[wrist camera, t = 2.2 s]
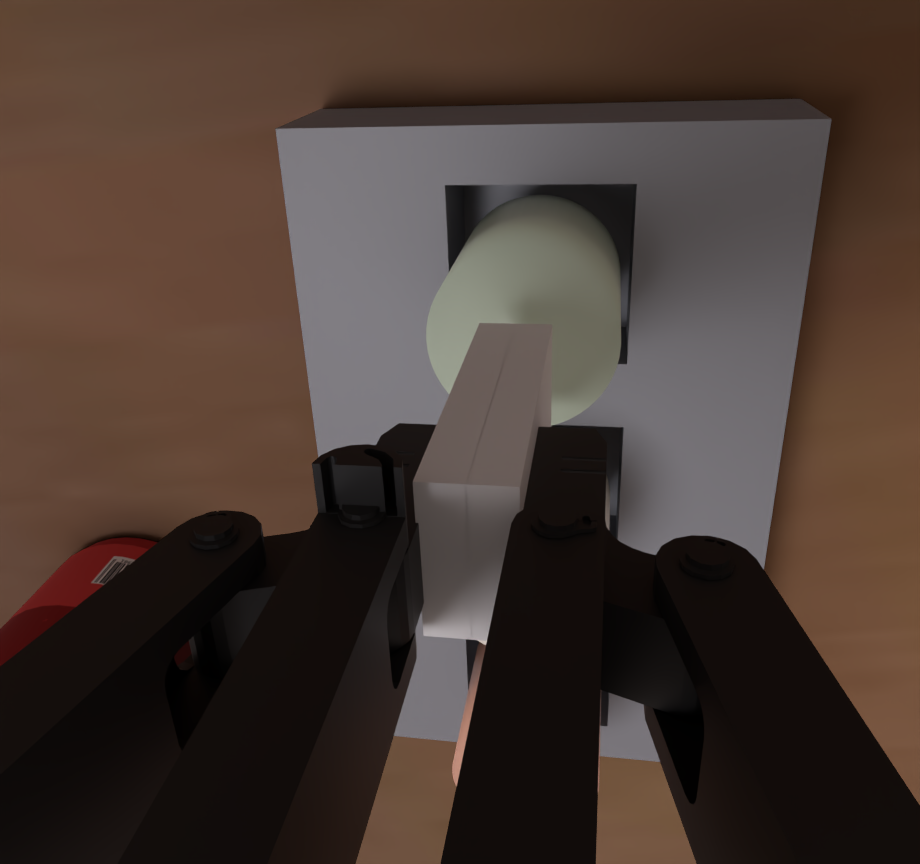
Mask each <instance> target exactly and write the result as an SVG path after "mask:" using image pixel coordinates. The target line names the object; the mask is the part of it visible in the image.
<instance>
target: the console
mask: <svg viewBox="0 0 920 864" xmlns="http://www.w3.org/2000/svg"><path fill="white" fill-rule="evenodd" d="M831 120H832V119H831V118H829V117H828V116H826V115H825V114H823V113H822V112H820V111H819V110H817V109H816V108H814V107H813V106H811V105H810V104H808V103H806V102H805V101H803V100H802V99H764V100H717V101H671V102H624V103H577V104H530V105H483V106H436V107H389V108H342V109H320V110H317V111H315V112H313V113H310V114H308V115H306V116H304V117H301V118H299V119H297V120H294V121H292V122H290V123H288V124H285V125H283V126H281V127H278V128H276V136H277V144H278V151H279V159H280V167H281V174H282V182H283V190H284V197H285V205H286V213H287V220H288V228H289V236H290V243H291V251H292V259H293V266H294V274H295V281H296V289H297V297H298V304H299V312H300V320H301V327H302V335H303V343H304V350H305V358H306V366H307V373H308V381H309V389H310V396H311V404H312V412H313V419H314V427H315V435H316V442H317V450H318V457H319V456H320V455H322V454H325V453H327V452H329V451H331V450H333V449H336V448H341V447H345V446H349V445H362V444H370V445H376V444H377V442H378V440H379V438H380V437H381V435H383V434H384V433H385V432H387V431H388V430H390V429H391V428H393V427H394V426H396V425H397V424H399V423H408V424H434V425H437V423H438V420H439V418H440V415H441V413H442V411H443V408H444V406H445V404H446V401H447V399H448V396H449V394H448V392H447V391H446V390H445V388H444V387H443V386H442V384H441V383H440V381H439V379H438V378H437V376H436V374H435V372H434V369H433V367H432V365H431V362H430V358H429V354H428V350H427V342H426V327H427V320H428V315H429V311H430V308H431V305H432V302H433V300H434V298H435V296H436V294H437V292H438V290H439V288H440V287H441V285H442V283H443V282H444V280H445V278H446V276H447V275H448V273H449V271H450V269H451V268H452V266H453V264H454V262H455V261H456V259H457V257H458V255H459V254H460V252H461V250H462V249H463V247H464V245H465V243H466V242H467V240H468V238H469V236H470V235H471V233H472V232H473V230H474V228H475V227H476V226H477V224H478V223H479V222H480V221H481V220H482V219H483V218H484V217H485V216H486V215H487V214H488V213H489V212H491V211H492V210H493V209H495V208H496V207H498V206H499V205H501V204H503V203H505V202H507V201H510V200H513V199H516V198H519V197H523V196H528V195H552V196H557V197H562V198H565V199H568V200H571V201H573V202H575V203H577V204H579V205H581V206H583V207H584V208H586V209H587V210H588V211H590V212H591V213H592V214H593V215H595V216H596V217H597V218H598V219H599V220H600V221H601V223H602V224H603V225H604V226H605V227H606V229H607V230H608V232H609V234H610V235H611V237H612V239H613V241H614V243H615V246H616V249H617V252H618V255H619V261H620V282H621V349H620V357H619V361H618V364H617V368H616V370H615V373H614V375H613V377H612V379H611V381H610V383H609V384H608V386H607V388H606V389H605V391H604V392H603V393H602V394H601V396H600V397H599V398H598V399H597V400H596V401H595V402H594V403H593V404H592V405H591V406H590V407H588V408H587V409H586V410H584V411H583V412H582V413H580V414H578V415H577V416H575V417H573V418H571V419H569V420H567V421H564V422H562V423H559V424H556V425H552V426H551V427H564V428H589V429H596V430H597V431H598V432H599V434H600V435H601V436H602V437H603V439H604V440H605V441H606V442H607V466H606V475H607V478H608V482H609V487H610V525H609V531H610V533H611V534H612V535H613V536H614V537H615V538H616V539H618V540H619V541H620V542H622V543H624V544H625V545H627V546H629V547H631V548H634V549H637V550H639V551H642V552H645V553H649V554H653V555H656V554H657V552H658V551H659V549H660V547H661V546H662V545H664V544H665V543H667V542H669V541H671V540H673V539H675V538H680V537H685V536H690V535H698V536H713V537H717V538H722V539H725V540H729V541H731V542H733V543H735V544H737V545H739V546H741V547H743V548H745V549H747V550H748V551H749V552H750V553H751V554H752V555H753V556H754V557H755V558H756V559H757V560H758V562H759V563H760V565H761V566H762V568H763V569H764V565H765V558H766V551H767V545H768V538H769V532H770V525H771V518H772V512H773V505H774V498H775V492H776V485H777V478H778V472H779V465H780V459H781V452H782V445H783V439H784V432H785V425H786V419H787V412H788V405H789V399H790V392H791V385H792V379H793V372H794V366H795V359H796V352H797V346H798V339H799V332H800V326H801V319H802V312H803V306H804V299H805V293H806V286H807V279H808V273H809V266H810V259H811V253H812V246H813V239H814V233H815V226H816V219H817V213H818V206H819V200H820V193H821V186H822V180H823V173H824V166H825V160H826V153H827V146H828V140H829V133H830V126H831ZM415 631H416V644H417V659H416V663H415V666H414V669H413V673H412V676H411V679H410V683H409V686H408V689H407V693H406V696H405V699H404V703H403V706H402V709H401V713H400V716H399V719H398V723H397V726H396V730H395V733H394V736H402V737H412V738H422V739H432V740H442V741H453V742H457V741H458V737H459V732H460V727H461V722H462V718H463V713H464V708H465V703H466V699H467V694H468V689H469V684H470V680H471V675H472V670H473V665H474V660H475V656H476V651H477V646H478V644H479V641H477V640H469V639H456V638H444V637H431V636H424V635H423V621H422V611H421V614H420V617H419V620H418V623H417V626H416V629H415ZM600 756H606V757H616V758H626V759H637V760H647V761H657V762H660V760H659V757H658V754H657V751H656V749H655V746H654V743H653V740H652V737H651V735H650V732H649V729H648V726H647V723H646V721H645V714H644V705H643V704H640V703H637V702H635V701H632V700H629V699H626V698H623V697H620V696H617V695H614V694H611V693H608V692H605V691H603V690H601V720H600Z"/></svg>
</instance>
